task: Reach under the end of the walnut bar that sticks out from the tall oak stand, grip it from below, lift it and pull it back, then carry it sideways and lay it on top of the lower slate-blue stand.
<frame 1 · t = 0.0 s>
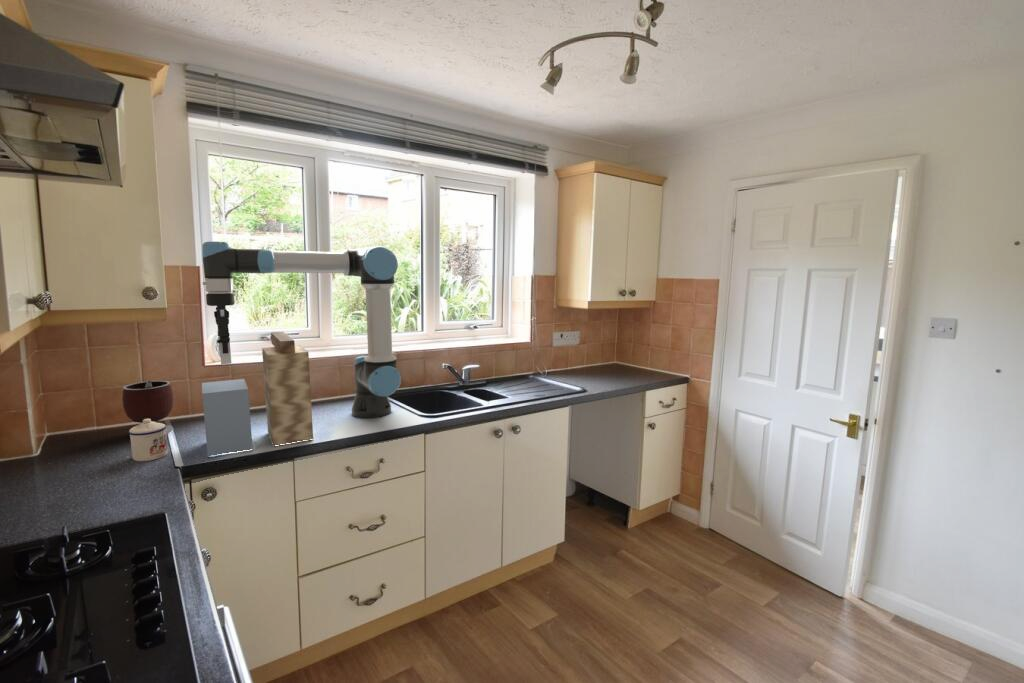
hand: (225, 360, 155), 28 cm above the worktop, tool pointing down, fingers open, 13 cm apart
teacup with lid: (154, 455, 151), on the worktop
oak stand: (290, 436, 168), on the worktop
mate gourd: (152, 434, 170), on the worktop
slate base: (229, 446, 158), on the worktop
walnut bar: (282, 347, 167), point 30 cm above the worktop, touching oak stand
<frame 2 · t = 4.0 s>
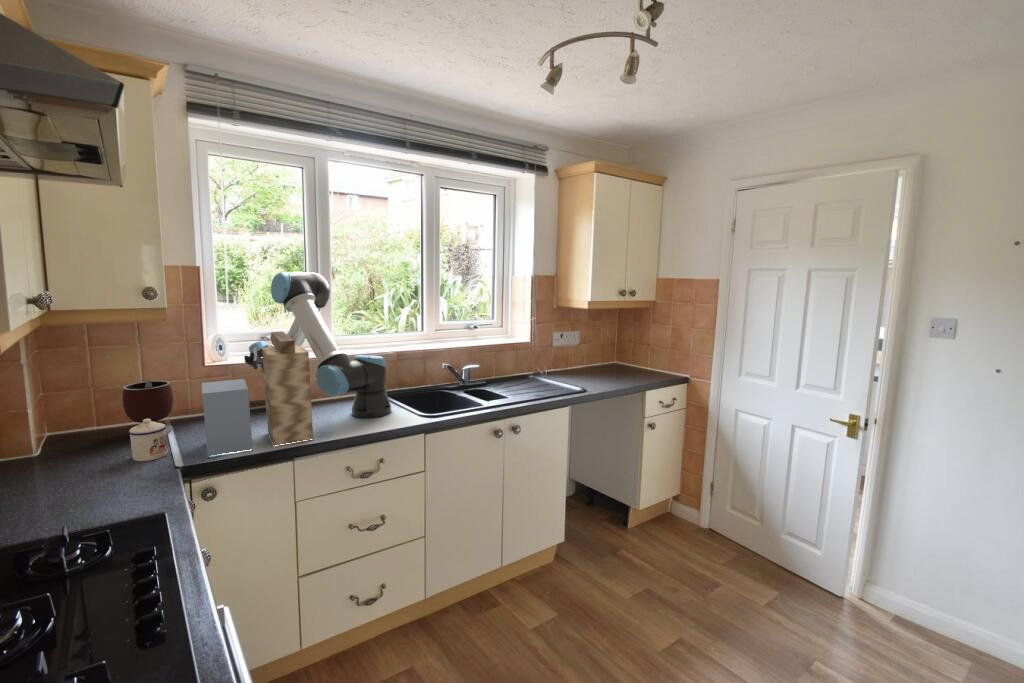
hand: (275, 349, 184), 27 cm above the worktop, tool pointing upward, fingers open, 13 cm apart
nothing on the worktop moved.
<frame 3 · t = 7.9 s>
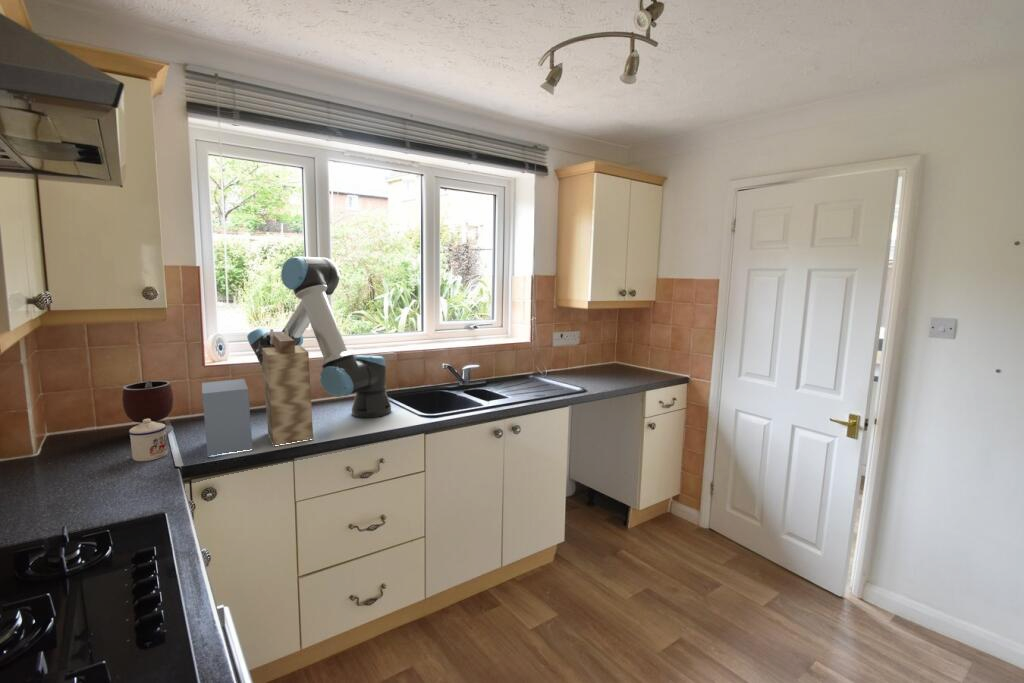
hand: (279, 332, 171), 35 cm above the worktop, tool pointing upward, fingers closed on walnut bar, 4 cm apart
walnut bar: (282, 347, 167), point 30 cm above the worktop, touching gripper, oak stand
everything else where it was.
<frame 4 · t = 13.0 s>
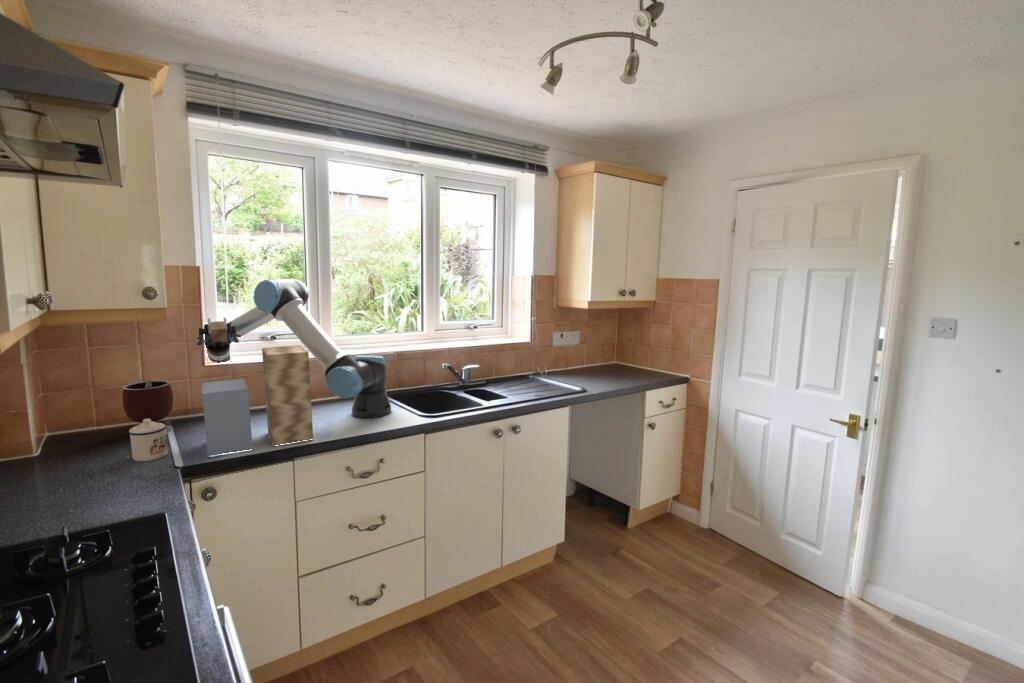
hand: (217, 321, 168), 39 cm above the worktop, tool pointing upward, fingers closed on walnut bar, 4 cm apart
walnut bar: (218, 337, 164), point 34 cm above the worktop, touching gripper
everything else where it was.
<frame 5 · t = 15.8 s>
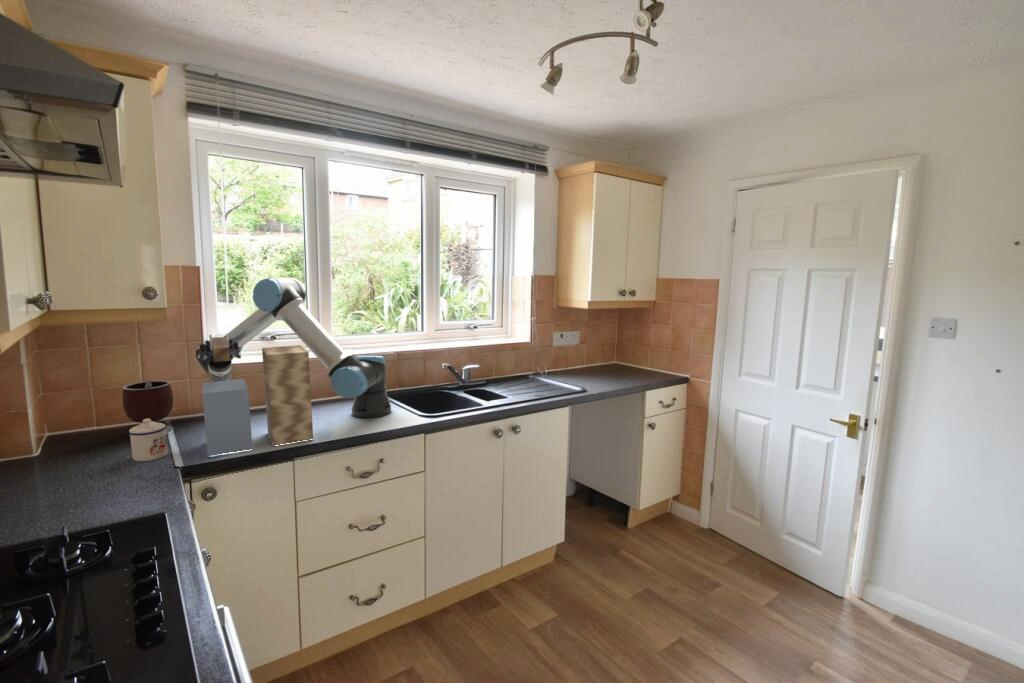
hand: (219, 338, 162), 34 cm above the worktop, tool pointing upward, fingers closed on walnut bar, 4 cm apart
walnut bar: (220, 354, 158), point 29 cm above the worktop, touching gripper
everything else where it was.
when the fingers open (26 cm above the worktop, at t = 18.1 s): walnut bar drops 1 cm, resting on slate base.
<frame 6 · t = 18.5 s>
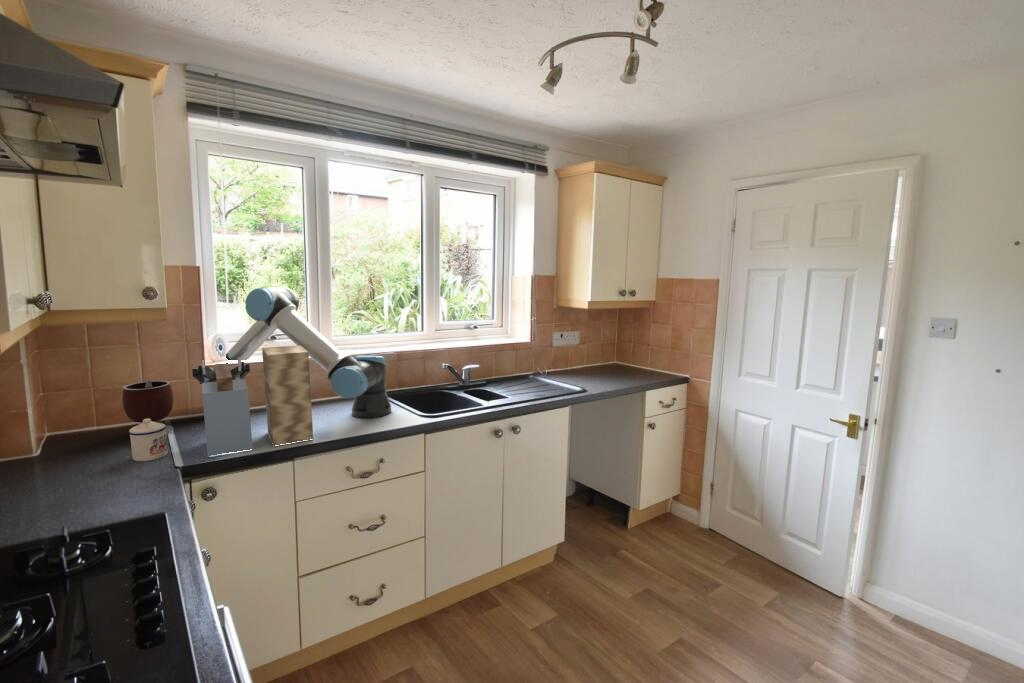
hand: (221, 362, 164), 26 cm above the worktop, tool pointing upward, fingers open, 10 cm apart
walnut bar: (223, 382, 159), point 20 cm above the worktop, touching slate base
everything else where it was.
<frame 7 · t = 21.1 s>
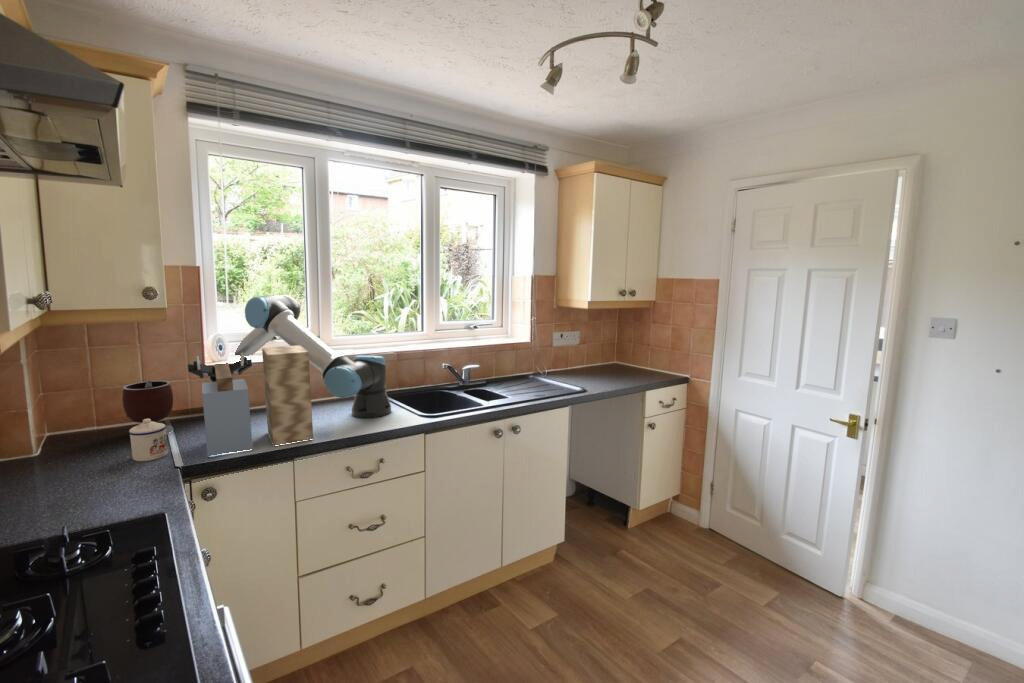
hand: (220, 357, 175), 25 cm above the worktop, tool pointing upward, fingers open, 13 cm apart
nothing on the worktop moved.
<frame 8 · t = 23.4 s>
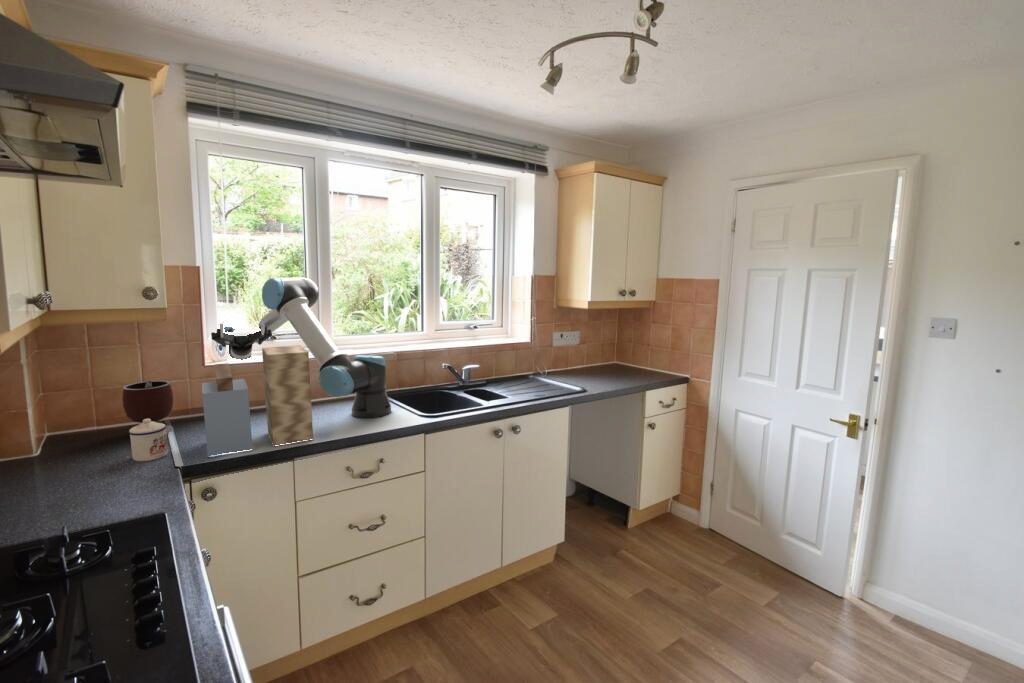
hand: (242, 325, 182), 36 cm above the worktop, tool pointing upward, fingers open, 13 cm apart
nothing on the worktop moved.
at the end: walnut bar inside the target area on the slate base (0.1 cm from its centre), point 20.0 cm above the slate base's base; walnut bar touching slate base; the gripper is holding nothing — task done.
